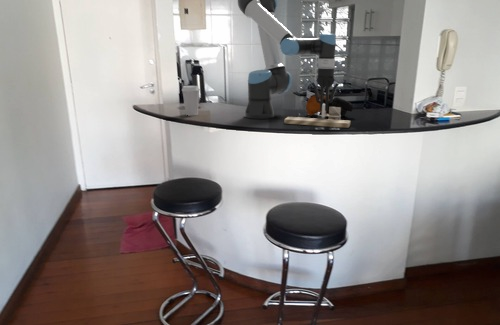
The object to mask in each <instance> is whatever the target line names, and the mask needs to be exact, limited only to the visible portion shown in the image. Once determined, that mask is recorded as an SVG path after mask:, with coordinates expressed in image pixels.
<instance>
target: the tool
mask: <svg viewBox="0 0 500 325" xmlns="http://www.w3.org/2000/svg"><path fill="white" fill-rule="evenodd" d="M320 93H321V92H318V94H319V99H320ZM330 97H331V93H329V100H330ZM325 98H326V95H324V100H323V102H324V103H323V104H325ZM354 105H355V104H354V102H349V101H348V100H345V99H343V98H342V97H339V96H334V98H333V101H332V103H329V104H328V110H327V111H326V114H329V107H341V112H340V114H341V117H345V115H346V113H347V112H352V111H353V109H354ZM305 108H306V113H307V114H308V116H310V117H312V116H314V115H315V114H318V113H319V116H322V111H321V110H320V103H317V102H316V97H315V93H314V94H312V95H310V96H309V98H308V100H307V101H306V105H305Z"/></svg>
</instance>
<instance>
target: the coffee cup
mask: <svg viewBox="0 0 500 325" xmlns="http://www.w3.org/2000/svg"><path fill="white" fill-rule="evenodd" d="M200 90H201V89H200V87H199V86H198V85H184V86H182V89H181V91H182V96H183V104H184V105H183V106H184V112H185V116H187V115H188V116H187V117H192V116H198V115H199V100H200V97H199V96H200V94H199V93H200Z"/></svg>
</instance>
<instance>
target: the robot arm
mask: <svg viewBox="0 0 500 325" xmlns="http://www.w3.org/2000/svg"><path fill="white" fill-rule="evenodd" d="M237 5H238V8H239V10H240V11H241V13H242V14H243V15H245V17H246V18H249V19H250V18H251V19H252V20H253V21H254V23H256V24H257V28H258V33H259V34H258V35H259V38H260V40H259V41H260V45H261V48H262V49H261V50H262V55H263V58H264V59H263V60H264V64H265V68H264V69H257V70H253V71H250V72H249V73H248V78H247V79H248V80H247V88H248V90H247V91H248V92H247V93H248V95H247V96H248V102H247V104H246V108H245V112H244V117H245V118H248V119H253V120H265V119H267V120H268V119H272V118H275V111H274V108H273V104H272V95H280V94H284V93H286V92H288V91H289V90H290V88H291V87H292V84H293V78H292V74H291V73H290V72H289V71H287V70H286V65H284V64H283V63H282V59H281V53H280V52H282V54H283V55H285V56H305V55H307V56H308V55H309V56H310V55H311V56H313V55H314V56H315V55H317V56H318V65H317V67H318V68H317V78H316V80H315V81H314V82H313V81H312V83H311V85H312V88H313V90H314V94H315V97H316V102H317V103H320V110H321V111H322V115H321V119H326V116H325V115H326V114H327V113H326V111H327V110H328V104H329V103H332V101H333V99H334V97H335V94H336V91H337V88H338V87H339V85H340V83H338V82H337V81H335V69H334V68H335V65H336V63H335V62H336V58H335V56H336V46H337V43H336V40H337V39H336V38H337V37H336V34H335V33H320V34H319V37H318V38H317V37H316V38H308V37H305V38H304V37H300V38H299V37H296V36H295V35H294V34H293V33H292V32H291V31H290V30H288V29H287V27H286V26H284V24H282V23H281V22H280V21H278V19H277V18H276V17H275V16H276V10H277V7H278V0H237ZM279 47H280V48H279ZM332 85H333V88H332V91H331V93H330V88H331V87H332ZM318 86H319V87H320V92H319V90H318ZM318 93H320V99H319V94H318ZM329 94H330V95H331V97H330V100H329ZM324 96H326V98H325V104H323V103H324V102H323V100H324Z"/></svg>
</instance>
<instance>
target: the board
mask: <svg viewBox="0 0 500 325" xmlns="http://www.w3.org/2000/svg"><path fill="white" fill-rule="evenodd" d="M283 122H284V124H289V125H301V126H302V125H305V126H317V127H331V128H345V129H346V128H347V129H349V128H350V127H351V120H347V119H346V120H344V119H340V120H332V119H329V118H328V119H327V118H314V117H313V118H311V117H298V116H297V117H296V116H287V117H286V118H284V121H283Z"/></svg>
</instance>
